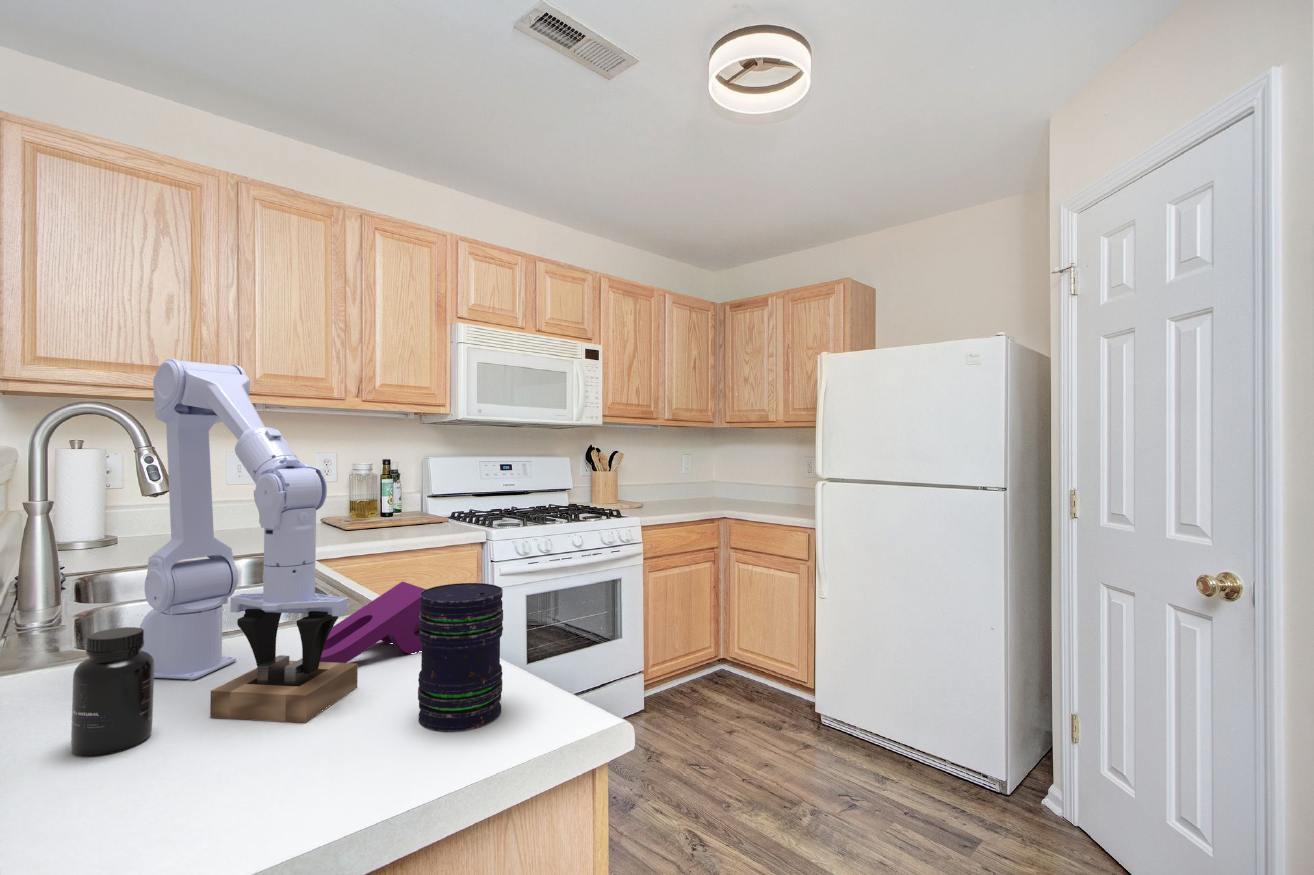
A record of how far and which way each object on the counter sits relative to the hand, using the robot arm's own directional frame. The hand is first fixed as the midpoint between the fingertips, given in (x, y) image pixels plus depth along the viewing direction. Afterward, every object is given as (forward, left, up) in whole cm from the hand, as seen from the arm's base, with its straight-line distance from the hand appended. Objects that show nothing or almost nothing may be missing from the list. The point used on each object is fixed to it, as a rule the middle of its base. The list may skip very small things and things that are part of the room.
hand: (288, 670), depth 82 cm
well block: (0, 0, -4) cm, 4 cm away
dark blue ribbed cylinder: (+23, -1, -4) cm, 23 cm away
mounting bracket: (+1, +19, -4) cm, 19 cm away
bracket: (0, 0, -4) cm, 4 cm away
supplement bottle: (-11, -13, -4) cm, 17 cm away
